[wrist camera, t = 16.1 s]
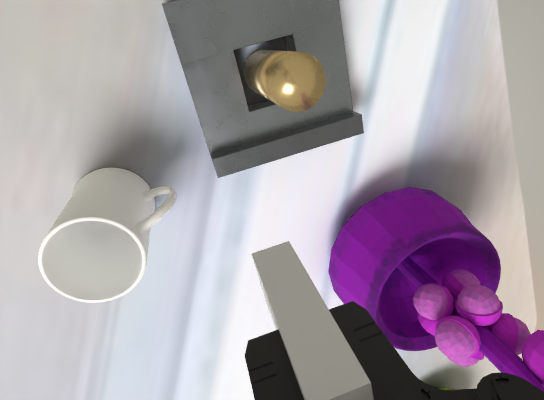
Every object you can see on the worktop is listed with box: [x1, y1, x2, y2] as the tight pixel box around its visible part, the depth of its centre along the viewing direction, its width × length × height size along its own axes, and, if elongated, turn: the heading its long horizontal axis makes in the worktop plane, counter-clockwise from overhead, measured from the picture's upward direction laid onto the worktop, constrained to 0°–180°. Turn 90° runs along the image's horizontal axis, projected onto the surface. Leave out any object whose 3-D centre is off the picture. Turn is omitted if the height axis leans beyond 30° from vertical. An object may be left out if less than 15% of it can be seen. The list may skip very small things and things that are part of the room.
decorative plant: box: [329, 187, 544, 392], centre depth 38 cm, size 19×18×30 cm
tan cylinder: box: [243, 50, 326, 112], centre depth 34 cm, size 4×4×12 cm
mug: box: [38, 168, 176, 302], centre depth 35 cm, size 12×8×12 cm
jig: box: [162, 0, 364, 178], centre depth 37 cm, size 16×16×5 cm
